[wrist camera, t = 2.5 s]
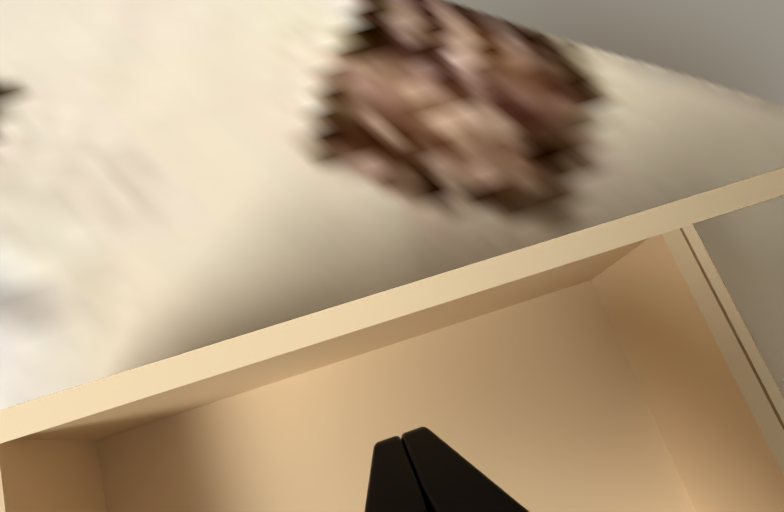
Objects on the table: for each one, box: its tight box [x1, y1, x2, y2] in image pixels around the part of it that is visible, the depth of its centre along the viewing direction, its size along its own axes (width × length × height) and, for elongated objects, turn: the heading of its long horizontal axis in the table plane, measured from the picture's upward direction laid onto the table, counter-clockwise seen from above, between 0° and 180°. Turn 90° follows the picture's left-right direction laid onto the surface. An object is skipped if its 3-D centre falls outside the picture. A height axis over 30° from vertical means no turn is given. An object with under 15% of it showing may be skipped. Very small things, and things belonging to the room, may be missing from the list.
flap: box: [0, 168, 784, 444], centre depth 9 cm, size 1×16×7 cm, turn 108°
